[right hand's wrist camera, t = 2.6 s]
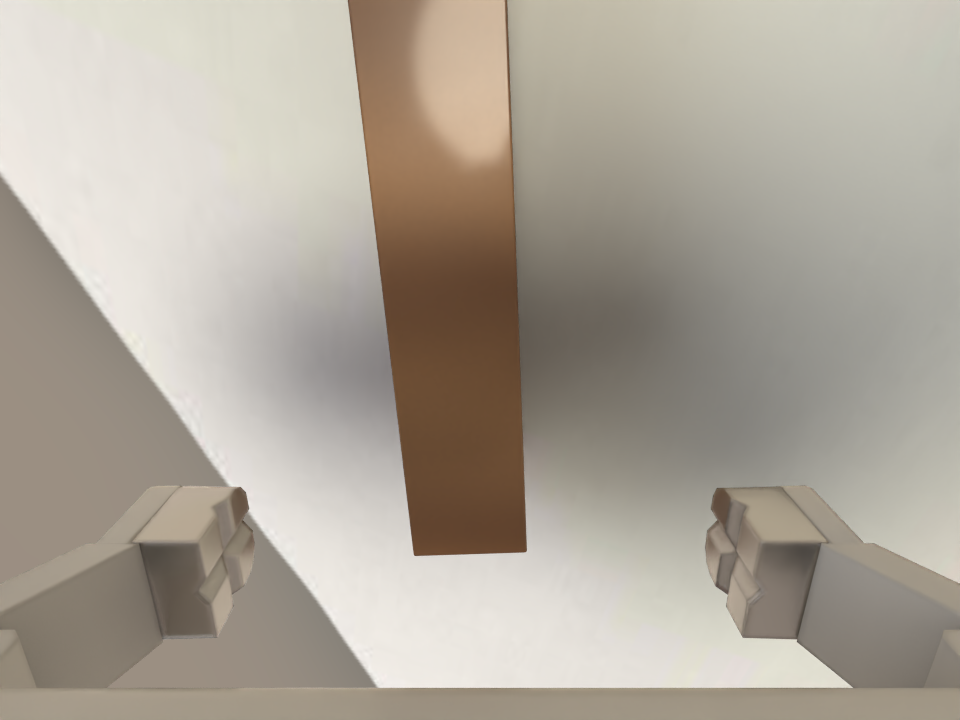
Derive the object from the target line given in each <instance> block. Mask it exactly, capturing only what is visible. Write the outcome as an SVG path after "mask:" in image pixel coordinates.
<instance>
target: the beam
mask: <svg viewBox="0 0 960 720" xmlns="http://www.w3.org/2000/svg"><path fill="white" fill-rule="evenodd" d="M348 6H349V14H350V23H351V31H352V40H353V48H354V56H355V65H356V73H357V82H358V90H359V98H360V107H361V115H362V124H363V132H364V140H365V149H366V157H367V166H368V174H369V182H370V191H371V199H372V208H373V216H374V224H375V233H376V241H377V250H378V258H379V266H380V275H381V283H382V292H383V300H384V308H385V317H386V325H387V334H388V342H389V350H390V359H391V367H392V376H393V384H394V392H395V401H396V409H397V418H398V426H399V434H400V443H401V451H402V460H403V468H404V476H405V485H406V493H407V502H408V510H409V518H410V527H411V535H412V544H413V552H414V556H427V555H458V554H488V553H519V552H526V551H527V540H526V513H525V485H524V457H523V429H522V401H521V374H520V346H519V318H518V290H517V263H516V235H515V207H514V179H513V152H512V124H511V96H510V68H509V40H508V13H507V0H348Z"/></svg>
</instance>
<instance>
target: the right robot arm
mask: <svg viewBox="0 0 960 720" xmlns="http://www.w3.org/2000/svg"><path fill="white" fill-rule="evenodd" d="M248 510H249V505H248V500H247V496H246V492H245V491H244V490H243V489H242V488H241V487H211V486H154V487H150V488H148V489H147V490H146V491H145V492H144V493H143V494H142V495H141V496H140V497H139V498H138V499H137V500H136V501H135V502H134V504H133V505H132V506H131V507H130V508H129V509H128V510H127V511H126V512H125V513H124V514H123V515H122V516H121V517H120V518H119V519H118V520H117V522H116V523H115V524H114V525H113V526H112V527H111V528H110V529H109V530H108V531H107V532H106V533H105V534H104V535H103V536H102V537H101V538H100V539H99V540H98V542H97V543H87V544H84V545H82V546H80V547H77V548H75V549H73V550H71V551H69V552H67V553H65V554H63V555H60V556H58V557H56V558H54V559H52V560H50V561H48V562H46V563H43V564H41V565H39V566H37V567H35V568H33V569H31V570H29V571H26V572H24V573H22V574H20V575H18V576H16V577H14V578H12V579H9V580H7V581H5V582H3V583H1V584H0V720H960V584H959V583H957V582H955V581H953V580H950V579H948V578H946V577H944V576H942V575H940V574H938V573H936V572H933V571H931V570H929V569H927V568H925V567H923V566H921V565H919V564H916V563H914V562H912V561H910V560H908V559H906V558H904V557H902V556H900V555H897V554H895V553H893V552H891V551H889V550H887V549H885V548H883V547H880V546H878V545H876V544H874V543H863V541H862V540H861V539H860V538H859V537H858V536H857V535H856V534H855V533H854V532H853V531H852V530H851V529H850V528H849V527H848V526H847V525H846V524H845V522H844V521H843V520H842V519H841V518H840V517H839V516H838V515H837V514H836V513H835V512H834V511H833V510H832V509H831V508H830V507H829V506H828V505H827V503H826V502H825V501H824V500H823V499H822V498H821V497H820V496H819V495H818V494H817V493H816V492H815V491H814V490H813V489H812V488H810V487H807V486H805V485H801V486H776V487H742V488H717V489H716V491H715V493H714V495H713V499H712V505H711V510H712V512H713V513H714V515H715V517H716V518H717V521H716V522H715V523H714V524H713V525H712V526H711V527H710V528H709V529H708V530H707V537H706V545H705V551H706V562H707V566H708V569H709V573H710V576H711V578H712V580H713V582H714V584H715V586H716V587H718V588H719V589H720V590H722V591H723V592H725V593H726V594H728V598H727V604H726V607H727V609H728V611H729V613H730V615H731V616H732V618H733V620H734V622H735V624H736V626H737V628H738V630H739V631H740V633H741V635H742V637H743V638H771V639H797V642H798V643H799V644H800V645H802V646H803V647H804V648H805V649H807V650H808V651H809V652H810V653H811V654H813V655H814V656H815V657H816V658H818V659H819V660H820V661H821V662H823V663H824V664H825V665H826V666H827V667H829V668H830V669H831V670H832V671H834V672H835V673H836V674H837V675H839V676H840V677H841V678H842V679H843V680H845V681H846V682H847V683H848V684H850V685H851V686H852V687H853V688H107V687H108V686H109V685H110V684H112V683H113V682H114V681H115V680H117V679H118V678H119V677H120V676H122V675H123V674H124V673H125V672H127V671H128V670H129V669H130V668H131V667H133V666H134V665H135V664H136V663H138V662H139V661H140V660H141V659H143V658H144V657H145V656H146V655H148V654H149V653H150V652H151V651H152V650H154V649H155V648H156V647H157V646H159V645H160V644H161V643H162V642H163V639H188V638H217V637H218V635H219V633H220V632H221V629H222V628H223V626H224V624H225V622H226V620H227V618H228V616H229V614H230V613H231V611H232V609H233V607H234V604H233V598H232V594H234V593H235V592H237V591H238V590H240V589H241V588H242V587H244V586H245V584H246V582H247V580H248V578H249V576H250V574H251V569H252V565H253V560H254V546H255V542H254V536H253V530H252V529H251V528H250V527H249V526H248V525H247V524H246V523H245V522H244V521H243V518H244V517H245V515H246V513H247V512H248Z"/></svg>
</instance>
